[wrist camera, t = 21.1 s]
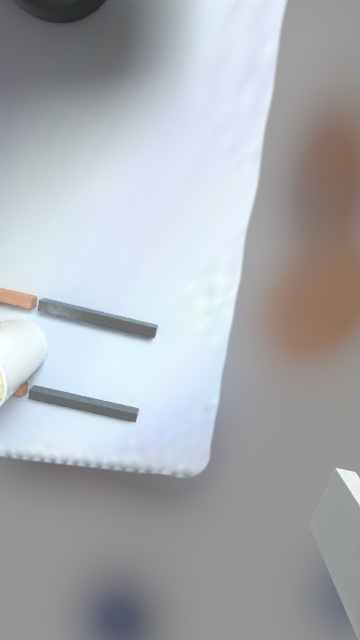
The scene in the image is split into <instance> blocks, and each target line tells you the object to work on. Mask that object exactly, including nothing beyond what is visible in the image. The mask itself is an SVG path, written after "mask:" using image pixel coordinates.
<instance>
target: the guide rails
mask: <svg viewBox="0 0 360 640" xmlns="http://www.w3.org/2000/svg"><path fill="white" fill-rule="evenodd" d="M38 311H42V312H47V313H51V314H55V315H59V316H64V317H68V318H72V319H77V320H81V321H85V322H89V323H94V324H98V325H102V326H107V327H111V328H115V329H119V330H124V331H128V332H132V333H136V334H141V335H145V336H149V337H154V338H155V335H156V331H157V327H158V325H155V324H151V323H147V322H143V321H138V320H134V319H130V318H126V317H121V316H117V315H113V314H109V313H104V312H100V311H96V310H92V309H87V308H83V307H79V306H75V305H70V304H66V303H62V302H58V301H53V300H49V299H45V298H44V299H41V300H39V304H38ZM29 399H33V400H38V401H42V402H47V403H51V404H56V405H61V406H65V407H70V408H74V409H79V410H83V411H88V412H92V413H97V414H101V415H106V416H110V417H115V418H119V419H124V420H128V421H133V422H136V419H137V415H138V411H139V409H138V408H134V407H129V406H125V405H121V404H116V403H112V402H107V401H103V400H98V399H94V398H89V397H85V396H80V395H76V394H71V393H67V392H62V391H58V390H53V389H49V388H44V387H40V386H35V385H34V386H33V387H32V388H31V389H30V390H29Z"/></svg>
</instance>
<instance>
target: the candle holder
mask: <svg viewBox="0 0 360 640" xmlns="http://www.w3.org/2000/svg"><path fill="white" fill-rule="evenodd" d="M48 350H49V346H48V341H47V338H46V336H45V334H44V333H43V331H42V330H41V329H40V328H39V327H38V326H37V325H35V324H34V323H32V322H30V321H28V320H24V319H11V320H7V321H4V322H0V407H1V406H2V405H3V403H4V402H5V401H6V400H7V399H8V398H9V397H10V396H11V395H12V394H13V393H14V392H15V391H16V390H17V389H18V388H19V387H20V386H21V385H22V384H23V383H24V382H25V381H26V380H27V379H28V378H29V377H30V376H31V375H32V374H33V373H34V372H35V371H36V370H37V369H38V368H39V367H40V366H41V365H42V364H43V362H44V361H45V359H46V358H47V355H48Z"/></svg>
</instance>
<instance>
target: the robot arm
mask: <svg viewBox="0 0 360 640" xmlns="http://www.w3.org/2000/svg"><path fill="white" fill-rule="evenodd" d="M14 1H15V2H17V3H18V4H19V5H20V6H21V7H22V8H23V9H25V10H26V11H27V12H29V13H31V14H32V15H34V16H36V17H38V18H41V19H43V20H47V21H51V22H60V23H62V22H71V21H75V20H78V19H81V18H83V17H85V16H87V15H89V14H90V13H92V12H93V11H95V10H96V9H97V8H98V7H99V6H100V5H101V4H102V3H103V2H104V1H105V0H14ZM309 526H310V528H311V530H312V533H313V535H314V537H315V540H316V542H317V544H318V547H319V549H320V551H321V554H322V556H323V558H324V561H325V563H326V565H327V568H328V570H329V573H330V575H331V577H332V580H333V582H334V584H335V587H336V589H337V591H338V594H339V596H340V598H341V600H342V603H343V605H344V607H345V610H346V612H347V615H348V617H349V619H350V622H351V624H352V626H353V629H354V631H355V633H356V636H357V638H358V640H360V478H359V477H358V476H357V474H356V473H355V472H351V471H347V470H343V469H338V468H335V470H334V472H333V474H332V476H331V478H330V480H329V482H328V484H327V486H326V489H325V491H324V493H323V495H322V497H321V499H320V501H319V503H318V506H317V508H316V510H315V512H314V514H313V516H312V518H311V520H310V522H309Z"/></svg>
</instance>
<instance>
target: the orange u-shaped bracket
mask: <svg viewBox="0 0 360 640" xmlns="http://www.w3.org/2000/svg"><path fill="white" fill-rule="evenodd" d="M0 302H4V303H8V304H12V305H17V306H21V307H25V308H29V309H32V308H34V307H36V304H37V297H36V296H32V295H28V294H24V293H19V292H15V291H11V290H7V289H3V288H0ZM27 392H28V384H27V383H23V384H22V385H21V386H20V387H19V388H18V389H17V390H16V391H15V392H14V393H13V394H12V395H15V396H20V397H23V396H24V395H25V394H26V393H27Z"/></svg>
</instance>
